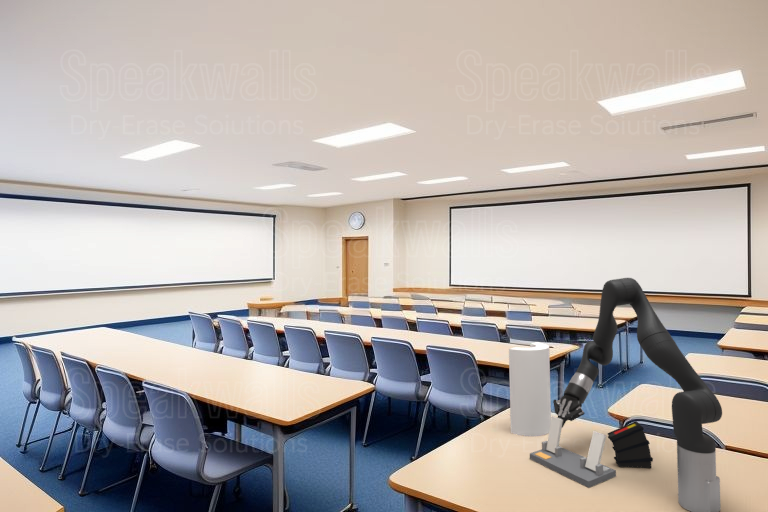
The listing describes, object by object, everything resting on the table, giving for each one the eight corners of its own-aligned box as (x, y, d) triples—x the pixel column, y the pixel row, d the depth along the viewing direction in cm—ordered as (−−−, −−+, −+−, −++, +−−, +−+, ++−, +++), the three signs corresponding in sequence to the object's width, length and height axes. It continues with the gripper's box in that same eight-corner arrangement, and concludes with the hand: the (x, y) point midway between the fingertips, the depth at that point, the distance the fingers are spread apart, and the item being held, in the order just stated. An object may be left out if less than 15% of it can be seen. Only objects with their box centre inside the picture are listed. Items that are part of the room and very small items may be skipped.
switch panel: (616, 476, 148) (615, 461, 148) (588, 487, 141) (588, 471, 141) (555, 450, 169) (555, 436, 169) (529, 458, 162) (529, 445, 162)
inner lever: (598, 472, 146) (606, 435, 149) (595, 471, 146) (604, 434, 148) (587, 467, 150) (595, 431, 152) (585, 466, 149) (593, 430, 152)
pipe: (509, 432, 187) (536, 420, 200) (533, 440, 178) (560, 427, 191) (507, 348, 187) (535, 341, 200) (531, 352, 178) (558, 345, 191)
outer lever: (557, 453, 160) (562, 419, 162) (555, 453, 160) (560, 419, 162) (548, 449, 164) (553, 416, 166) (546, 449, 163) (551, 416, 165)
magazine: (662, 464, 152) (641, 424, 153) (625, 479, 153) (605, 439, 154) (657, 459, 156) (636, 420, 157) (621, 474, 157) (601, 435, 158)
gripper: (559, 378, 174) (538, 415, 169) (589, 386, 163) (567, 427, 157) (569, 389, 177) (548, 426, 171) (599, 398, 165) (578, 439, 160)
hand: (557, 427), depth 164 cm, fingers closed
